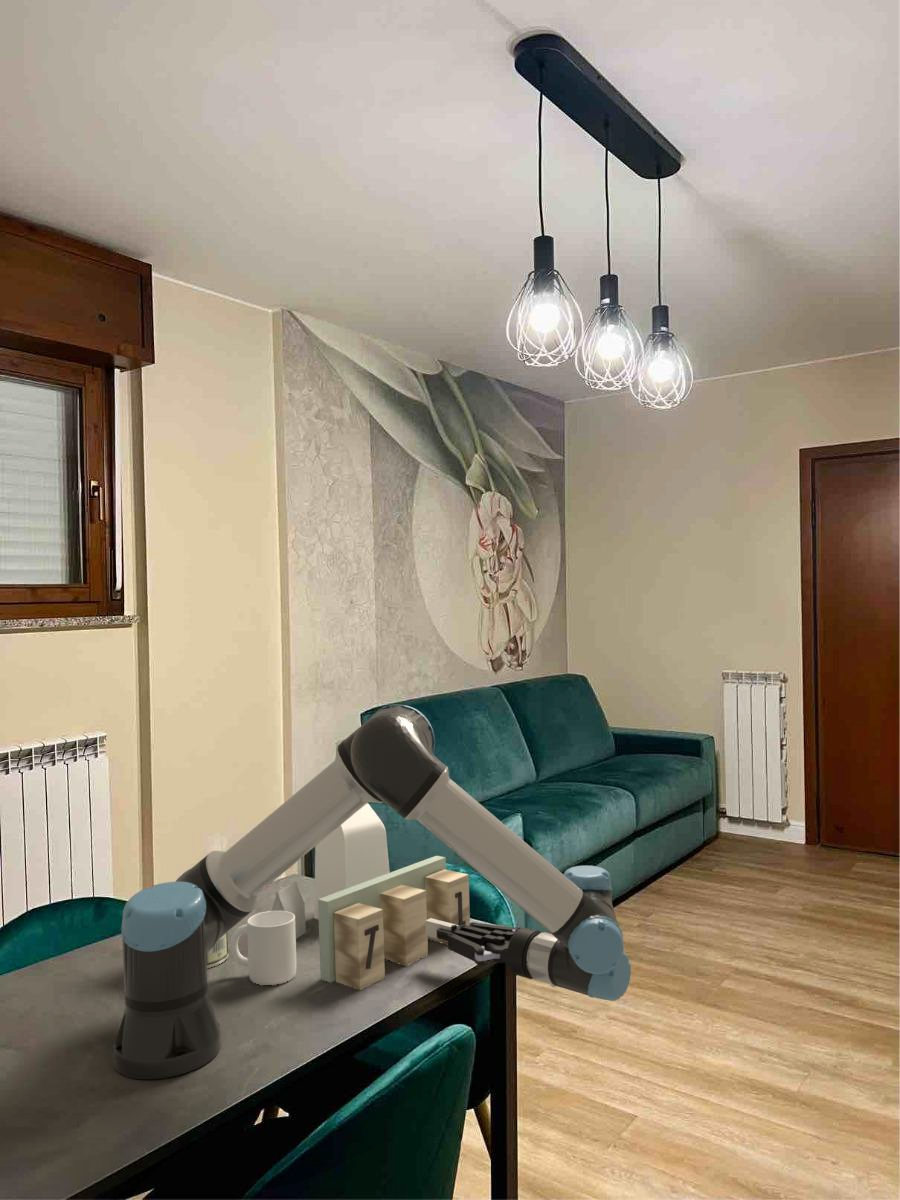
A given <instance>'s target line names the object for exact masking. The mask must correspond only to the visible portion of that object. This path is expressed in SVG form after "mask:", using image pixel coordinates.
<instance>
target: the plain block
mask: <svg viewBox="0 0 900 1200" xmlns="http://www.w3.org/2000/svg"><path fill="white" fill-rule="evenodd" d="M380 909H383V932H384V960H385V959H386V960H385V961H388V960H390V961H389V962H391V961H393V962H392V963H394V962H396V963H395V964H397V963H400V964H399V965H401V964H403V965H402V966H404V965H408V964H410V963H412V962H414V961H416V960H418V959H420V958H422V957H424V958H425V956H426V955H428V956H429V946H428V941H429V939H428V938H427V936H426V924H425V920H427V906H426V890H422V889H418V888H413V887H409V886H405V885H400V886H398V887H395V888H393V889H390V890H387V891H385V892H382V893H380ZM426 957H427V956H426ZM422 959H423V958H422ZM420 960H421V959H420ZM418 961H419V960H418ZM416 962H417V961H416ZM414 963H415V962H414ZM412 964H413V963H412ZM410 965H411V964H410ZM408 966H409V965H408Z"/></svg>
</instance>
